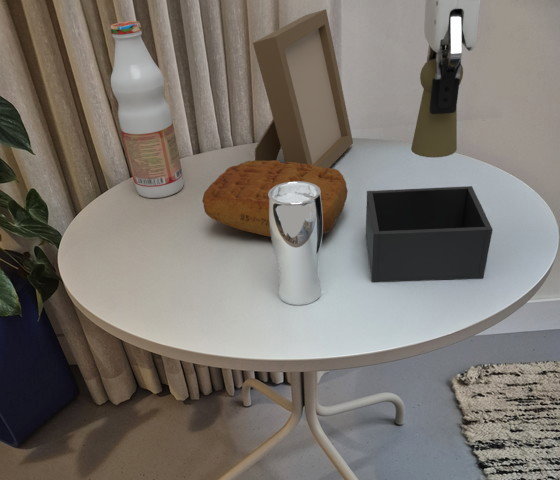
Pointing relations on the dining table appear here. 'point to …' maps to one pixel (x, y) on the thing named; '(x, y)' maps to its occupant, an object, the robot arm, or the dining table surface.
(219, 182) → the clay tablet
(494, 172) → the dining table surface
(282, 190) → the beer glass
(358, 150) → the dining table surface
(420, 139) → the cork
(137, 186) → the fruit juice
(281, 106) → the photo frame
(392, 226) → the basket
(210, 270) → the dining table surface
